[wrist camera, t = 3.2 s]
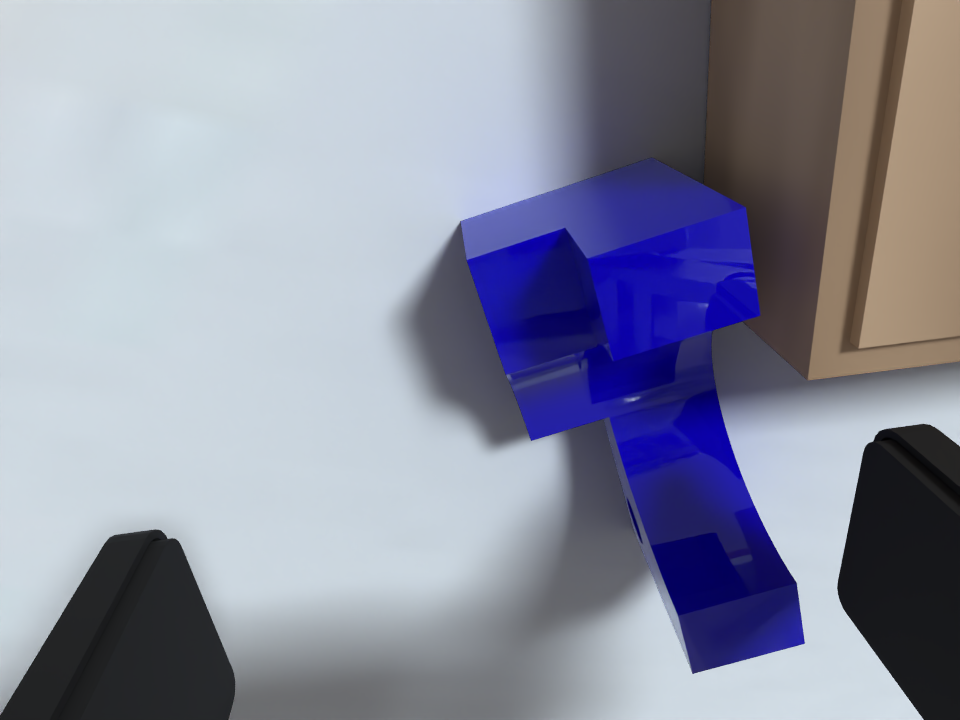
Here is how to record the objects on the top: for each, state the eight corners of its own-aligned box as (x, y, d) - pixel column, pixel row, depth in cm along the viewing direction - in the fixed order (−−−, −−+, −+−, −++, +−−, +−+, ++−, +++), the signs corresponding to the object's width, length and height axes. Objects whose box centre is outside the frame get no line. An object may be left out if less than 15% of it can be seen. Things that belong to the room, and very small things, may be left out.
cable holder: (460, 218, 12) (472, 296, 8) (648, 155, 12) (746, 206, 8) (568, 542, 15) (610, 695, 12) (715, 499, 15) (804, 643, 11)
